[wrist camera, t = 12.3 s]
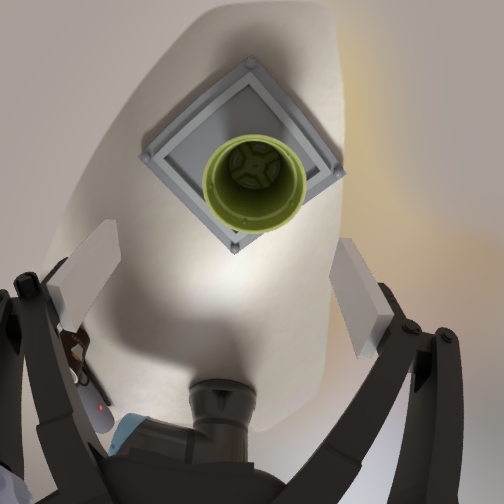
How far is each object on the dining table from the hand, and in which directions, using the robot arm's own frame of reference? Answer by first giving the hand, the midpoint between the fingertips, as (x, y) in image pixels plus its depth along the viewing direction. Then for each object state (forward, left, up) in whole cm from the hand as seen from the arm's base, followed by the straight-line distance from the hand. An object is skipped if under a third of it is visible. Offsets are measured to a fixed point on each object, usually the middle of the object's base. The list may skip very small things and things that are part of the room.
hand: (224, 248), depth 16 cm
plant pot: (-1, -2, -19) cm, 19 cm away
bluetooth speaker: (-16, +66, -21) cm, 71 cm away
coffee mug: (-4, +49, -21) cm, 54 cm away
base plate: (0, -1, -21) cm, 21 cm away
